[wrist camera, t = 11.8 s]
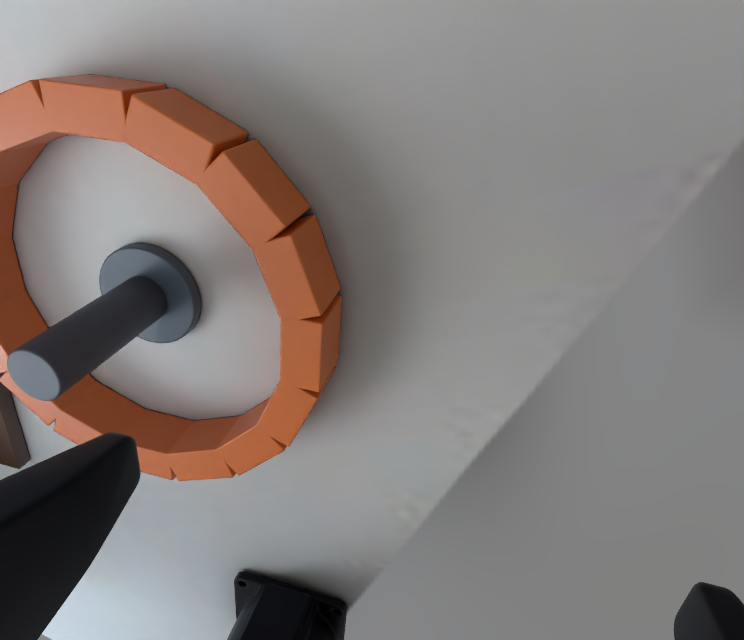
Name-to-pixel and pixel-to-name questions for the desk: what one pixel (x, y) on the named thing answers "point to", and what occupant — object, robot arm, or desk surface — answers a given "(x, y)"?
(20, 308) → the ring
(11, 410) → the walnut stand
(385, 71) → the desk surface
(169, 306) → the slate stand
